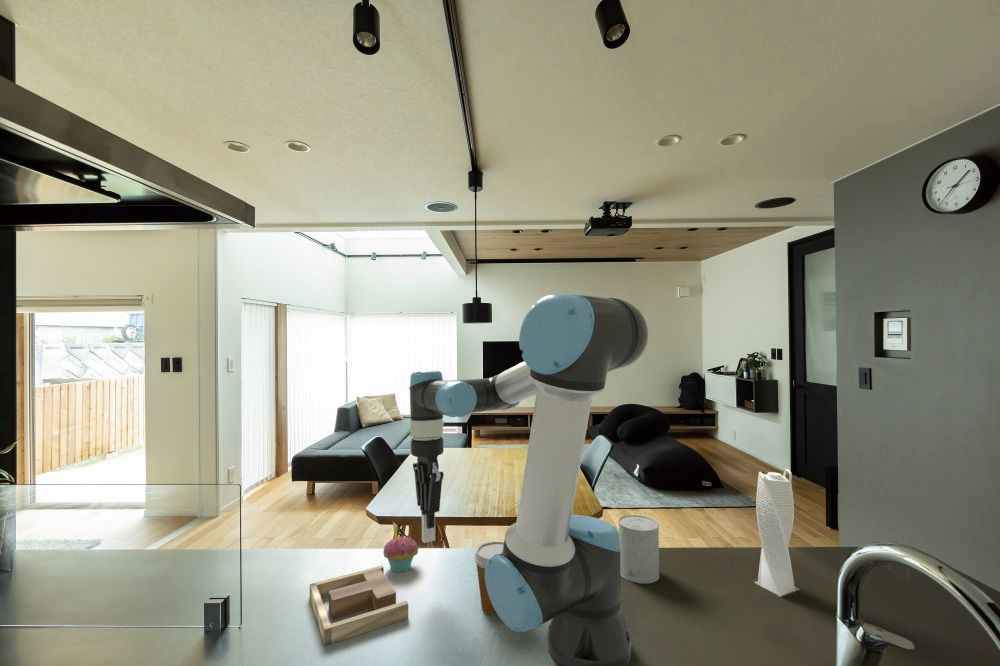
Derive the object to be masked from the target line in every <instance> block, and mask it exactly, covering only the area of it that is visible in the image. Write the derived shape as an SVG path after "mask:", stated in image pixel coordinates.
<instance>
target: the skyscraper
mask: <svg viewBox="0 0 1000 666" xmlns="http://www.w3.org/2000/svg"><path fill="white" fill-rule="evenodd" d="M787 472H788V475H789V476H788V478H787V477H786V476H787ZM792 476H793V473H792V472H791V470H790V469H789V468H785V469H784V470H783V474H781V473H779V472H775V471H772V472H771V471H769V472H767V474H765V473H762V471H759V472H758V476H757V485H756V496H755V497H756V499H755V511H756V513H755V514H756V521H757V522H756V523H757V528H758V533H759V539H760V543H761V547H760V548H761V550H760V558H759V567H758V575H757V579H758V581H755V582H754V583H755V584H754V583H753V584H754V585H756V584H757V585H756V586H758V585H759V586H758V587H760V588H762V589H764V590H766V591H768V592H770V593H771V594H774V595H776V596H777V597H780V598H782V597H785V596H787V595H790V594H793V593H796V592H797V591H800V590H801V588H800V587H799V588H798V587H797V586H795V581H794V580H795V579H794V574H793V568H792V567H793V566H792V561H791V557H790V552H789V547H788V546H789V543H790V540H791V537H792V533H793V527H794V519H795V506H794V505H795V503H794V502H795V501H794V493H793V492H794V491H793V486H792Z"/></svg>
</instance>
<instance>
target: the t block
mask: <svg viewBox="0 0 1000 666" xmlns="http://www.w3.org/2000/svg"><path fill="white" fill-rule="evenodd" d="M394 604H397V591H396V590H395V589H394V588H393V586H392V584H391V582H390V581H389V580H388V578H387V576H385V573H384V574H383V572H382V571H381V569H380V568H379V569H375V570H371V571H368V572H364V573H362V582H361V583H357V584H353V585H349V586H346V587H342V588H338V589H335V590H331V591H329V596H328V611H329V615H330V617H331V621H334V620H337V619H338V620H339V619H340V618H344V617H347V616H351V615H355V614H357V613H361V612H364V611H367V610H371V609H372V611H374V610H377V609H381V608H384V607H387V606H390V605H394Z"/></svg>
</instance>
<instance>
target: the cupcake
mask: <svg viewBox="0 0 1000 666" xmlns="http://www.w3.org/2000/svg"><path fill="white" fill-rule="evenodd" d="M396 525H397V524H396V523H395V521H394V520H393V521H392V527H393V534H394V538H392V539H390V540H388V542H387V543H386V544H385V545H384V547H383V557H384V558H386V559H387V562H388V563H389V564H388V565H389V566H390V570H391V571H393V572H395V573H404V572H406V571H408V570H409V569H410V568H411V566H412V562H413V559H414V557H415V556H417V555H418V553H419V546H418V543H417V541H415V539H413V538H411V537H409V536H398V532H397V526H396Z"/></svg>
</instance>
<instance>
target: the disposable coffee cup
mask: <svg viewBox="0 0 1000 666" xmlns="http://www.w3.org/2000/svg"><path fill="white" fill-rule="evenodd" d="M503 545H504V541H501V540H500V541H499V540H498V541H496V540H495V541H494V540H493V541H488V542H487V541H486V542H484V543H481V544H480V545H478V546H477V548H476V551H475V553H474V556H473V558H474V561H475V563H476V572H477V579H478V587H479V595H480V602H481V603H480V604H481V610H482V611H483V612H484V613H485V614H488V615H493V616H498V614H497V613H496V611H495V609H494V607H493V605H492V603H491V600H490V598H489V595H488V592H487V588H486V583H485V567H486V563H487V561H488V560H489V559H490V558H492V557H493V556H494V555H495V554H501V553H502V551H503Z"/></svg>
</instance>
